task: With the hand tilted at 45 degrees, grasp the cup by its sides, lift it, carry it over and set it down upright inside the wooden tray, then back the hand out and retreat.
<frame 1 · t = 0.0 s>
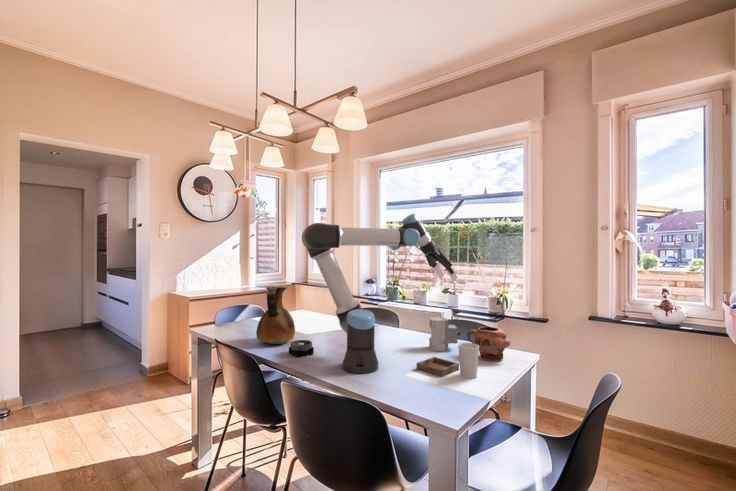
hand: (448, 277, 172), 36 cm above the table, fingers open, 13 cm apart
brown vase: (275, 343, 184), on the table
wooden tray: (437, 369, 144), on the table
cpu cooler: (301, 354, 165), on the table
circuit breaker: (444, 349, 175), on the table
decorative planter: (487, 358, 160), on the table
cup: (468, 376, 137), on the table
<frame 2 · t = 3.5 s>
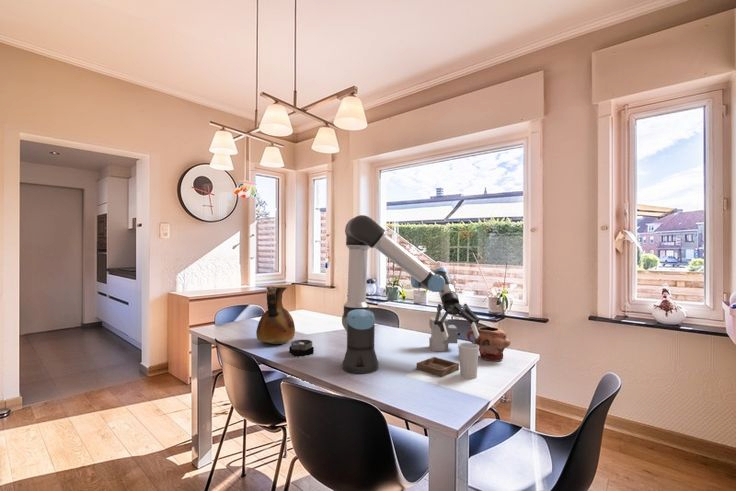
hand: (462, 337, 146), 13 cm above the table, fingers open, 13 cm apart
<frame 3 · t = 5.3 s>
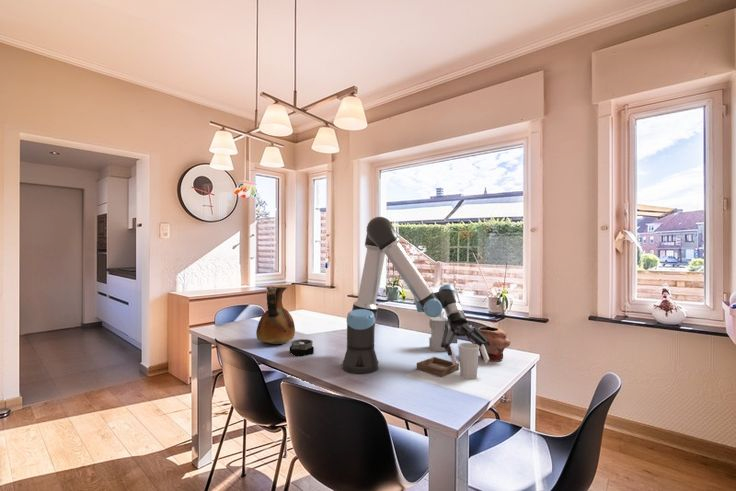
hand: (471, 361, 136), 6 cm above the table, fingers open, 13 cm apart
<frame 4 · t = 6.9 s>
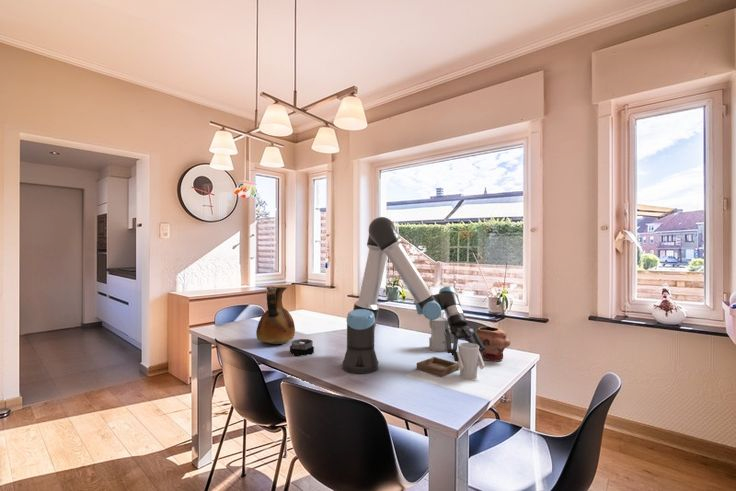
hand: (472, 368, 134), 4 cm above the table, fingers closed on cup, 8 cm apart
cup: (468, 376, 137), on the table, touching gripper
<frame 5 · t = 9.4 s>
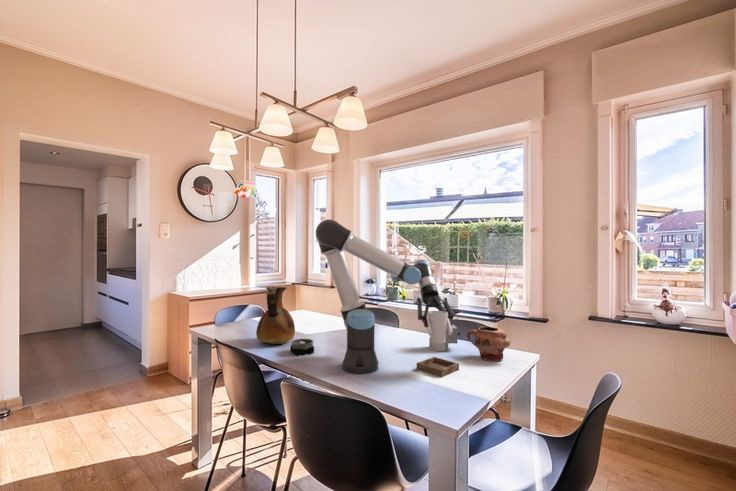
hand: (440, 333, 141), 16 cm above the table, fingers closed on cup, 8 cm apart
cup: (437, 341, 144), point 12 cm above the table, touching gripper
when the fingers open (6 cm above the table, at t = 12.0 s): cup drops 1 cm, resting on wooden tray.
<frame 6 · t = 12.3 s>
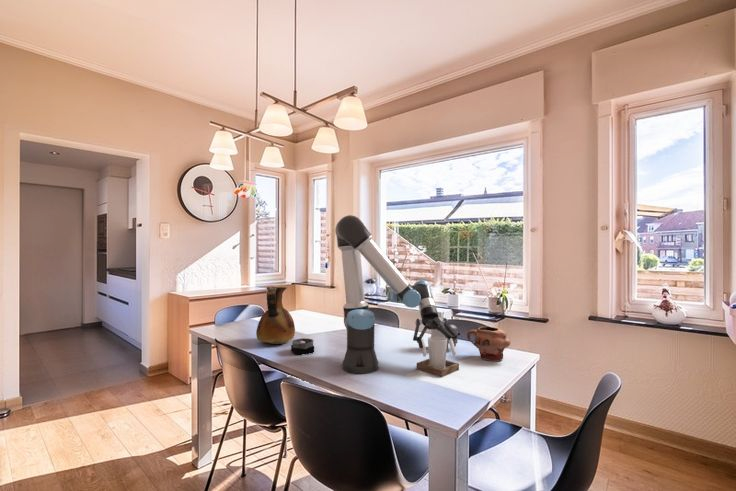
hand: (439, 354, 142), 7 cm above the table, fingers open, 12 cm apart
cup: (437, 368, 144), point 1 cm above the table, touching wooden tray
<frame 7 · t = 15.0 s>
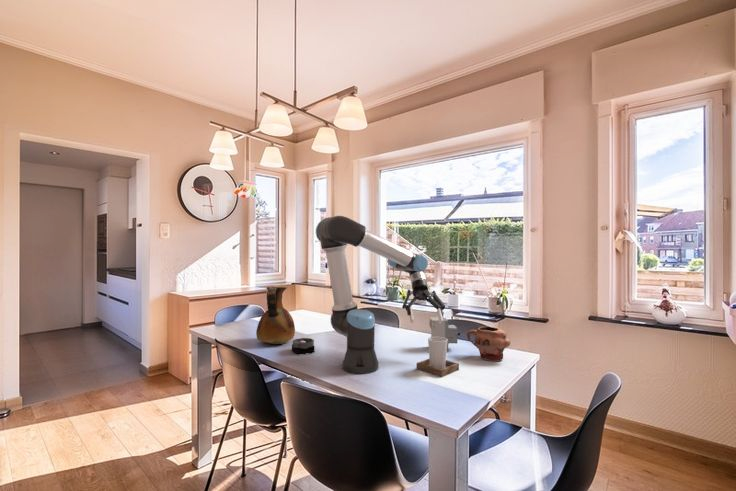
hand: (427, 321, 155), 18 cm above the table, fingers open, 13 cm apart
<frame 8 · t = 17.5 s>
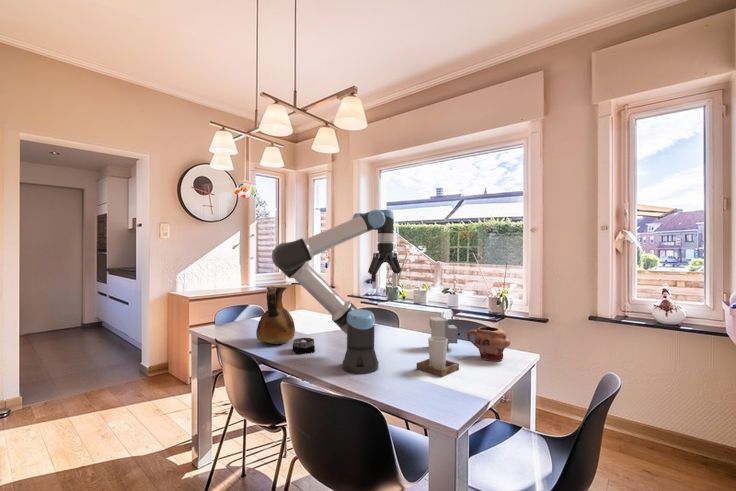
hand: (385, 287, 164), 32 cm above the table, fingers open, 13 cm apart
at the end: cup 0.1 cm off-centre on the wooden tray, point 0.4 cm above the wooden tray's base; cup tilted 0°; the gripper is holding nothing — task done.
